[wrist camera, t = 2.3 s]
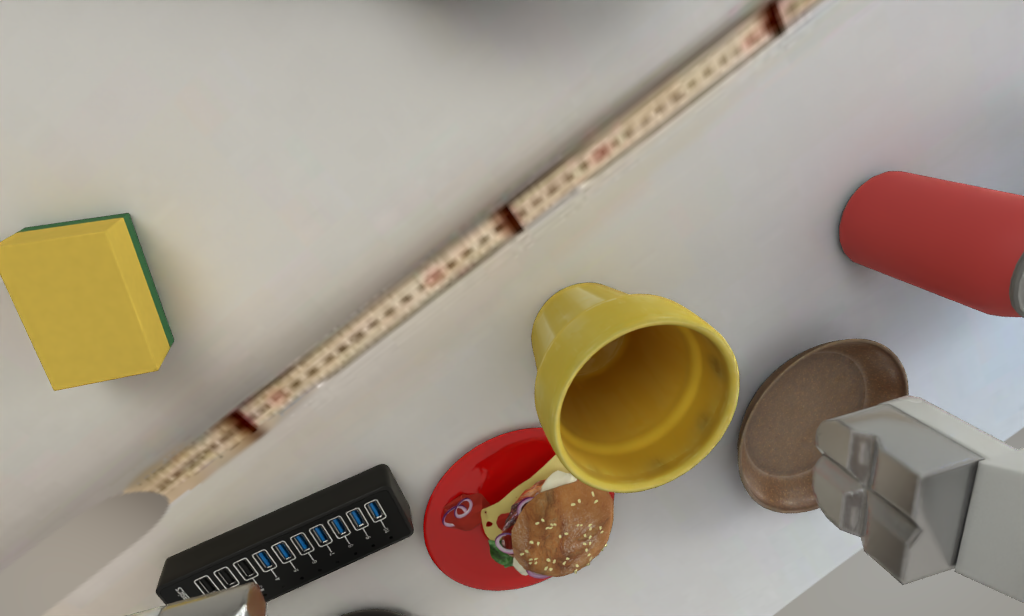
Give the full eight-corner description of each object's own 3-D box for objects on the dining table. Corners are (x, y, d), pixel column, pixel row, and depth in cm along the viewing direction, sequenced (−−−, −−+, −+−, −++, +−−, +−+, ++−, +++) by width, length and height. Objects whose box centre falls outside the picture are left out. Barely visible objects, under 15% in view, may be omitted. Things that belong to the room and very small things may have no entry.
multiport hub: (411, 510, 41) (416, 534, 38) (200, 606, 39) (192, 637, 37) (385, 461, 39) (388, 484, 37) (161, 560, 37) (151, 590, 35)
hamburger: (549, 386, 40) (584, 437, 35) (643, 505, 46) (684, 564, 41) (379, 514, 40) (388, 584, 35) (496, 615, 46) (518, 688, 41)
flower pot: (529, 426, 41) (584, 527, 32) (477, 294, 36) (525, 371, 27) (666, 363, 42) (755, 444, 33) (632, 228, 37) (725, 281, 29)
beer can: (840, 278, 43) (1009, 351, 33) (825, 197, 40) (1005, 247, 30) (917, 235, 44) (1108, 293, 33) (908, 151, 41) (1115, 185, 30)
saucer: (837, 285, 43) (867, 299, 41) (906, 402, 50) (936, 419, 48) (683, 424, 44) (703, 446, 42) (771, 520, 51) (793, 543, 49)
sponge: (24, 227, 29) (-13, 248, 25) (129, 212, 29) (105, 230, 26) (80, 358, 31) (53, 391, 28) (174, 340, 32) (158, 371, 29)
